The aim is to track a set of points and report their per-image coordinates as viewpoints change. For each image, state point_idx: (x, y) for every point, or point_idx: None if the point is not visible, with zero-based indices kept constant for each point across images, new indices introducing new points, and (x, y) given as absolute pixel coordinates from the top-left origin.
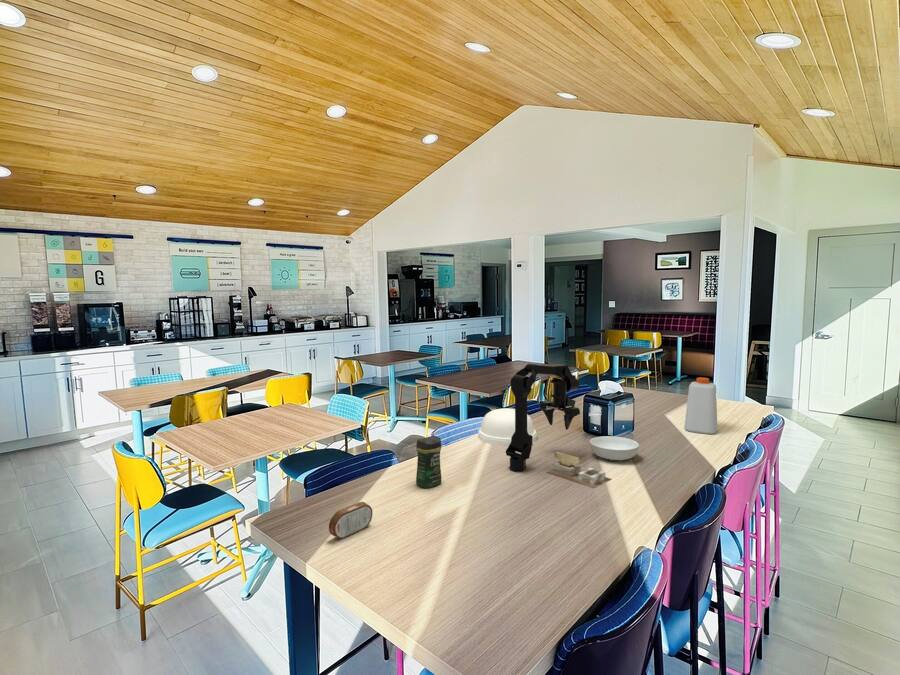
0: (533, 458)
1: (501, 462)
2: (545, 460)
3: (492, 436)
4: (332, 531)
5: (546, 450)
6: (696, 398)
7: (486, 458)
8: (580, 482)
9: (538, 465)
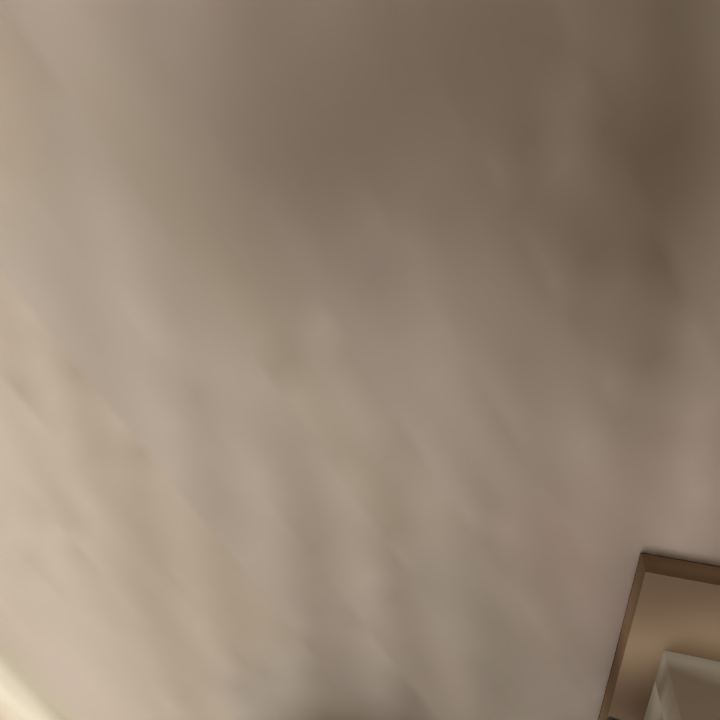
0: (240, 496)
1: (140, 701)
2: (362, 482)
3: None
4: None
5: (153, 163)
6: None
7: (16, 679)
8: None
9: (395, 632)
